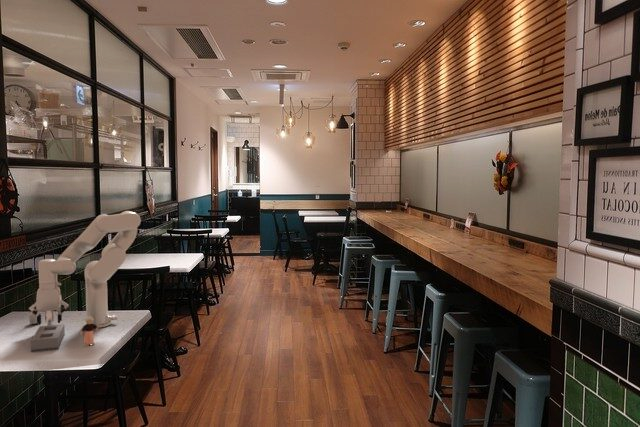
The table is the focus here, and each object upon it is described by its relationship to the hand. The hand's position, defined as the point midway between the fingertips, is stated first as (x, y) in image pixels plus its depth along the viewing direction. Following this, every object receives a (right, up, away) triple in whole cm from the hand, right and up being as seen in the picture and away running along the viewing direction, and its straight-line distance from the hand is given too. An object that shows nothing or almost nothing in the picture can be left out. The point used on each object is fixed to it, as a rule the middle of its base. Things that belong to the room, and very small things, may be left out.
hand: (49, 322), depth 230 cm
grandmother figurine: (+27, -6, -16) cm, 32 cm away
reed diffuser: (-15, -4, +13) cm, 20 cm away
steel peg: (0, -4, 0) cm, 4 cm away
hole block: (+8, -6, -15) cm, 18 cm away
